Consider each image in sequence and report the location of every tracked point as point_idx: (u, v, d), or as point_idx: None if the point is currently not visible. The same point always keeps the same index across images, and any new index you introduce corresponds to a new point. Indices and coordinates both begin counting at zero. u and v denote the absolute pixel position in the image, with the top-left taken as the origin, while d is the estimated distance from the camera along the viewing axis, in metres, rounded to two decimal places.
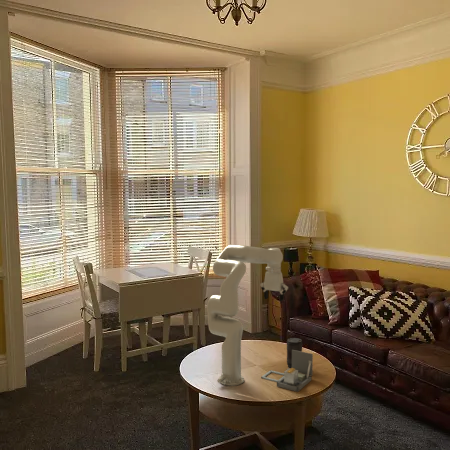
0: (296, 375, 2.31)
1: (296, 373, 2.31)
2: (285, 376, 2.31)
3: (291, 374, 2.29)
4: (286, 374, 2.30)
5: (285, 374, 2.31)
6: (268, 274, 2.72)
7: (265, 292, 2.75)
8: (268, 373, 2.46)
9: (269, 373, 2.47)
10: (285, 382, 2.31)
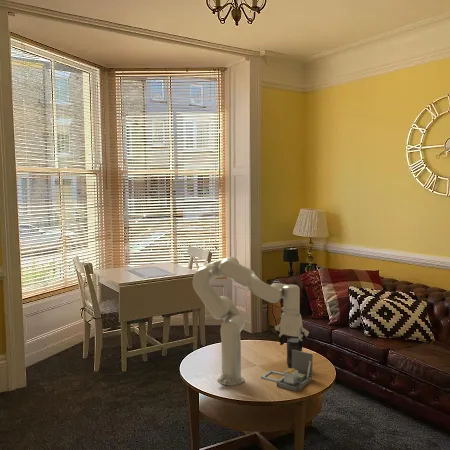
0: (296, 375, 2.31)
1: (296, 373, 2.31)
2: (285, 376, 2.31)
3: (291, 374, 2.29)
4: (286, 374, 2.30)
5: (285, 374, 2.31)
6: (285, 316, 2.28)
7: (281, 337, 2.31)
8: (268, 373, 2.46)
9: (269, 373, 2.47)
10: (285, 382, 2.31)
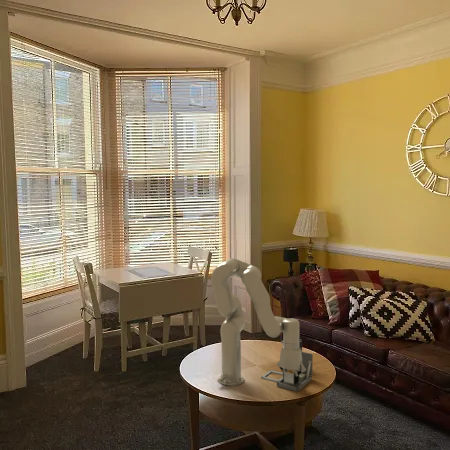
0: None
1: None
2: (285, 376, 2.31)
3: (291, 374, 2.29)
4: (286, 374, 2.30)
5: (285, 374, 2.31)
6: (284, 350, 2.30)
7: None
8: (268, 373, 2.46)
9: (269, 373, 2.47)
10: (285, 382, 2.31)
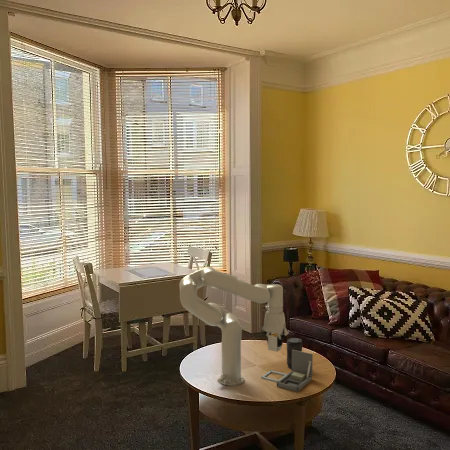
0: None
1: None
2: (269, 339, 2.40)
3: (275, 337, 2.38)
4: (270, 337, 2.40)
5: (269, 337, 2.40)
6: (268, 314, 2.39)
7: None
8: (268, 373, 2.46)
9: (269, 373, 2.47)
10: (269, 345, 2.40)
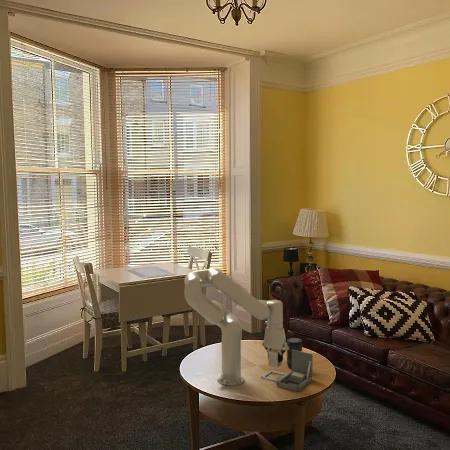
0: None
1: None
2: (270, 355, 2.41)
3: (275, 353, 2.39)
4: (270, 353, 2.40)
5: (270, 353, 2.41)
6: (268, 330, 2.40)
7: None
8: (268, 373, 2.46)
9: (269, 373, 2.47)
10: (270, 361, 2.41)
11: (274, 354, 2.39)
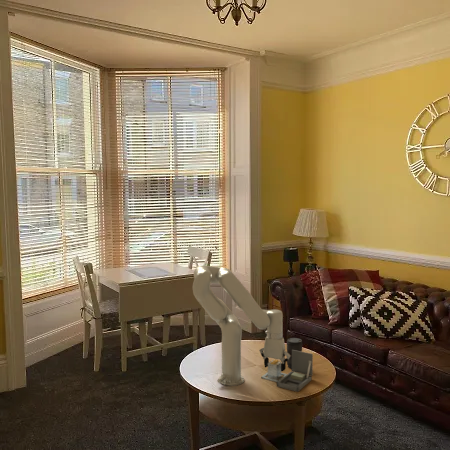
0: (279, 367, 2.42)
1: (279, 365, 2.42)
2: (269, 367, 2.41)
3: (274, 365, 2.40)
4: (270, 365, 2.41)
5: (269, 365, 2.41)
6: (268, 340, 2.40)
7: (265, 360, 2.43)
8: None
9: None
10: (269, 373, 2.42)
11: (273, 366, 2.40)
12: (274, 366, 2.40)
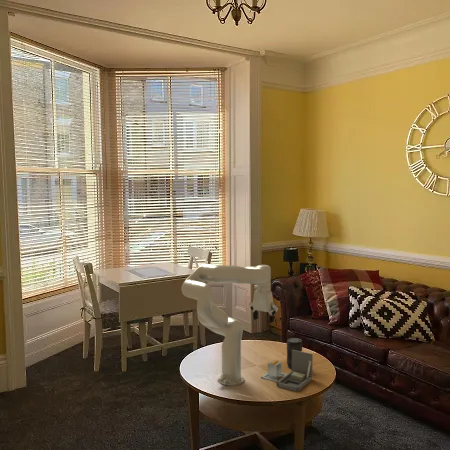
0: (279, 367, 2.42)
1: (279, 365, 2.42)
2: (269, 367, 2.41)
3: (274, 365, 2.40)
4: (270, 365, 2.41)
5: (269, 365, 2.41)
6: (257, 293, 2.51)
7: (254, 312, 2.55)
8: None
9: None
10: (269, 373, 2.42)
11: (273, 366, 2.40)
12: (274, 366, 2.40)
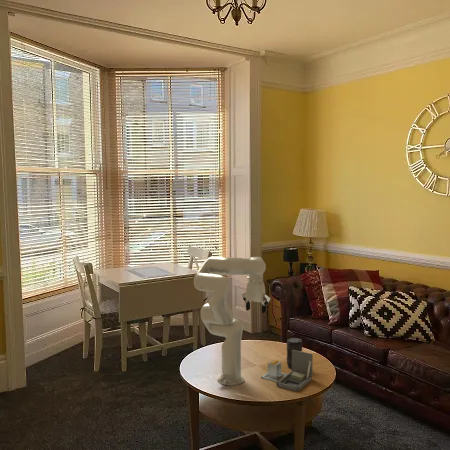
0: (279, 367, 2.42)
1: (279, 365, 2.42)
2: (269, 367, 2.41)
3: (274, 365, 2.40)
4: (270, 365, 2.41)
5: (269, 365, 2.41)
6: (250, 284, 2.59)
7: (247, 303, 2.63)
8: None
9: None
10: (269, 373, 2.42)
11: (273, 366, 2.40)
12: (274, 366, 2.40)
